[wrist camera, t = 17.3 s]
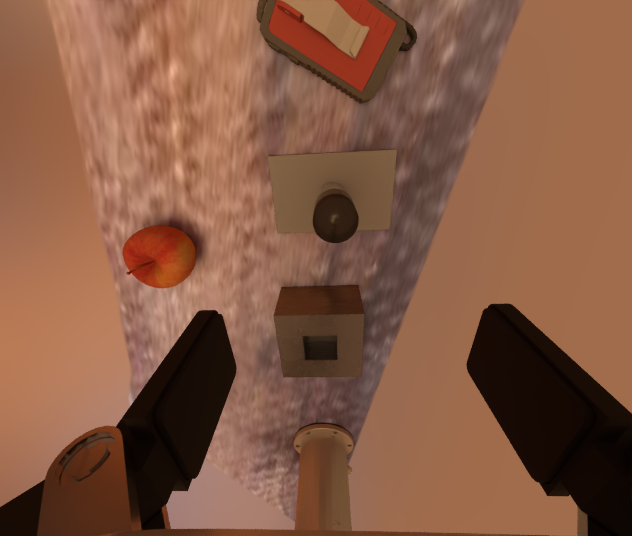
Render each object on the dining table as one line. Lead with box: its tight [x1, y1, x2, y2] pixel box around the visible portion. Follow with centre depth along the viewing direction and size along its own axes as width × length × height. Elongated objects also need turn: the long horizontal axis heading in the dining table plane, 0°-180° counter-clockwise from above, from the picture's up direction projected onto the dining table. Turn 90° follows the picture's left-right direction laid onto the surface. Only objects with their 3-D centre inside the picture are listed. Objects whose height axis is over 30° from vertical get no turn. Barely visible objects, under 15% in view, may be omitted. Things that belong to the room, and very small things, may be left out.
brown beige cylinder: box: [313, 182, 359, 243], centre depth 25 cm, size 4×4×10 cm
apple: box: [123, 226, 196, 288], centre depth 31 cm, size 7×7×8 cm
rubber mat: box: [268, 149, 397, 234], centre depth 30 cm, size 9×14×1 cm, turn 93°
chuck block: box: [274, 285, 365, 377], centre depth 36 cm, size 11×11×6 cm
